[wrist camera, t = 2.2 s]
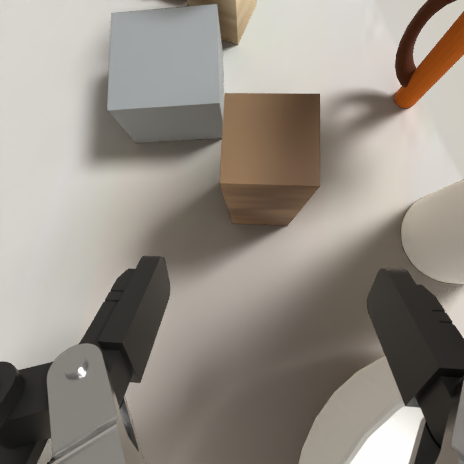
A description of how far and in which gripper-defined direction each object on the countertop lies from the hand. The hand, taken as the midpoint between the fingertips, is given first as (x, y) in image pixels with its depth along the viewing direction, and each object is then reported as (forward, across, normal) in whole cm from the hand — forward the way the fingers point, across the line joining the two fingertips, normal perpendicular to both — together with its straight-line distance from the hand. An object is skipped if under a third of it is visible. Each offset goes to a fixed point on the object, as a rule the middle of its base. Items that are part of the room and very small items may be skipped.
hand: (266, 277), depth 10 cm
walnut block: (+12, 0, +3) cm, 13 cm away
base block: (+19, +8, -3) cm, 21 cm away
